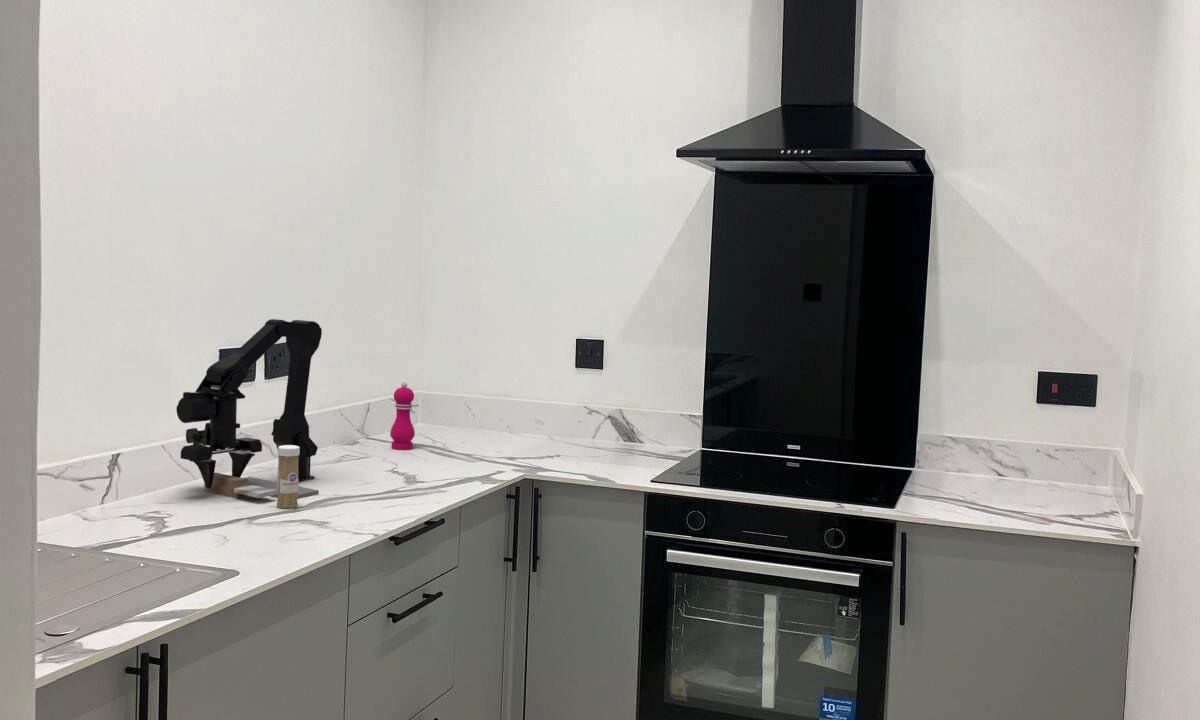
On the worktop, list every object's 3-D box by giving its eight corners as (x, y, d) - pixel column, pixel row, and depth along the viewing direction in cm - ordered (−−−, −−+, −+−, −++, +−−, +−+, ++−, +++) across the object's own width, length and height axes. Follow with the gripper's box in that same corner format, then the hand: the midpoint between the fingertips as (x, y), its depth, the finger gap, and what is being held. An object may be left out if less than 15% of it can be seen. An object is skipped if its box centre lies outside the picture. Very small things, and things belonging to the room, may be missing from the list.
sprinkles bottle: (286, 509, 215) (288, 448, 214) (271, 506, 217) (273, 446, 216) (302, 506, 219) (304, 446, 218) (287, 503, 221) (289, 443, 220)
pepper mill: (388, 446, 300) (390, 380, 298) (412, 446, 302) (415, 381, 300) (390, 450, 293) (393, 383, 291) (415, 450, 295) (418, 383, 293)
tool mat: (249, 479, 243) (249, 476, 243) (318, 493, 232) (318, 490, 232) (219, 485, 235) (219, 482, 235) (289, 500, 224) (289, 496, 224)
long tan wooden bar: (200, 492, 228) (201, 474, 228) (218, 488, 232) (218, 471, 232) (258, 504, 219) (259, 486, 219) (276, 501, 223) (276, 483, 223)
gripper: (231, 411, 239) (230, 475, 240) (164, 419, 223) (163, 487, 224) (264, 416, 234) (262, 481, 235) (198, 424, 217) (197, 494, 219)
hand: (221, 485), depth 228 cm, fingers open, 7 cm apart
